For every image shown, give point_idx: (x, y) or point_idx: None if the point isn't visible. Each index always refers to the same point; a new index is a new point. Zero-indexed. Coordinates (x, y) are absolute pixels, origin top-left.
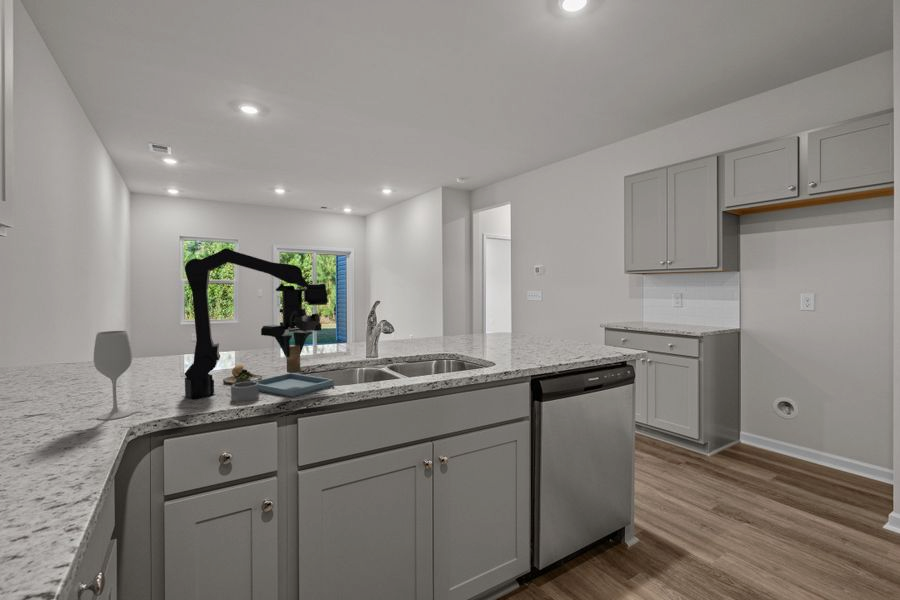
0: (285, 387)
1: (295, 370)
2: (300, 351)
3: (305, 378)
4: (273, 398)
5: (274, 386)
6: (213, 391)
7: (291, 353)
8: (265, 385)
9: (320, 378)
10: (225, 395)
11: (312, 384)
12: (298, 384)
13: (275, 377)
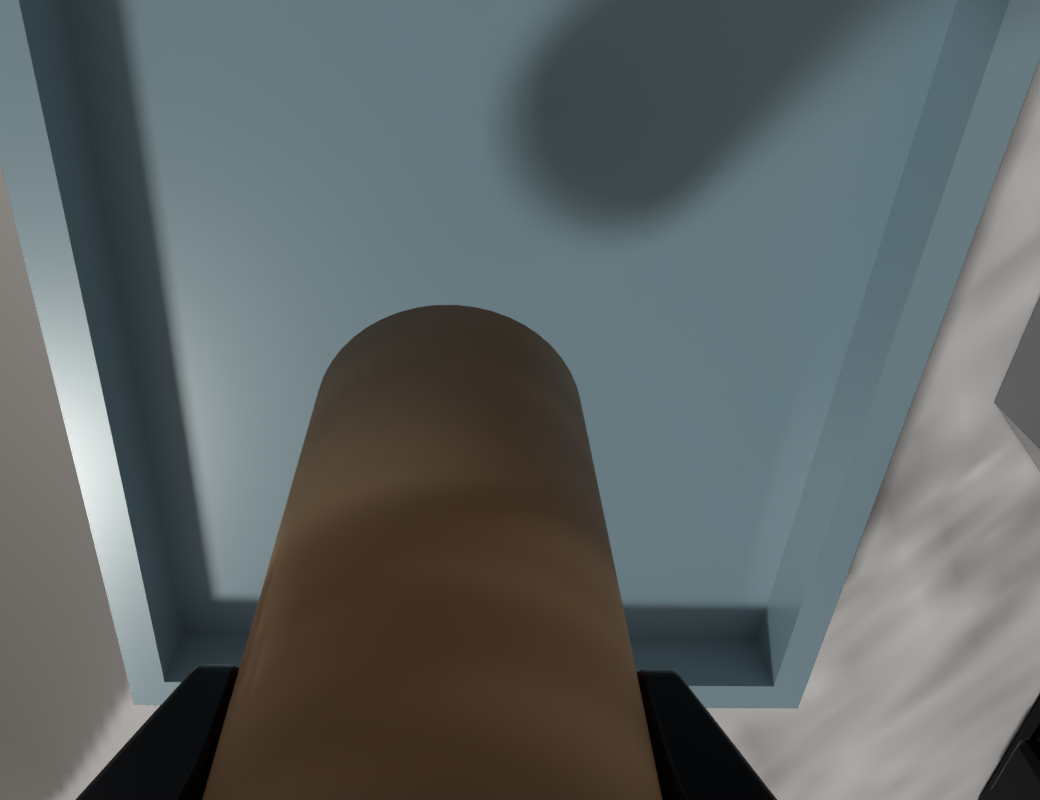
0: (614, 308)
1: (516, 339)
2: (177, 741)
3: (121, 390)
4: (1024, 109)
5: (630, 469)
6: (1037, 754)
7: (631, 705)
8: (874, 451)
9: (21, 11)
10: (986, 655)
11: (241, 55)
12: (379, 275)
13: None
